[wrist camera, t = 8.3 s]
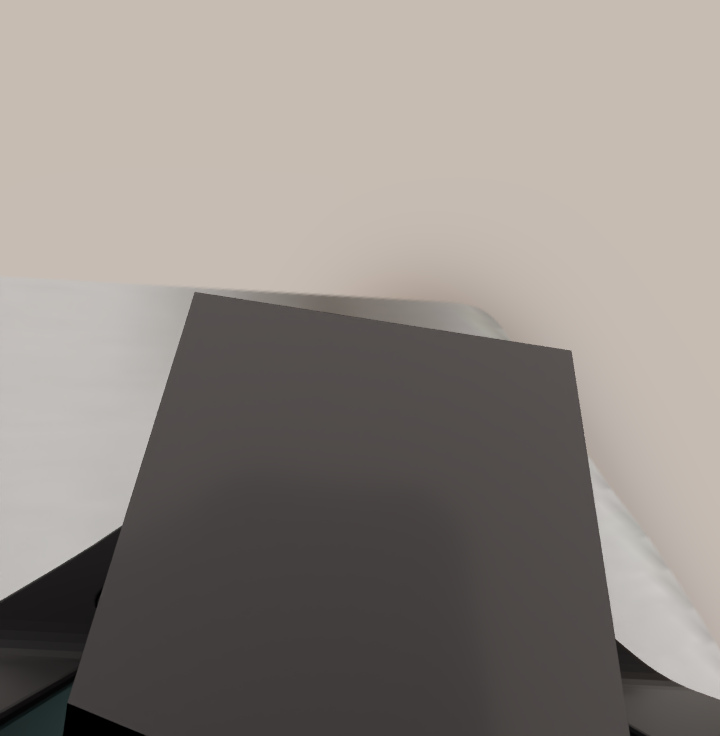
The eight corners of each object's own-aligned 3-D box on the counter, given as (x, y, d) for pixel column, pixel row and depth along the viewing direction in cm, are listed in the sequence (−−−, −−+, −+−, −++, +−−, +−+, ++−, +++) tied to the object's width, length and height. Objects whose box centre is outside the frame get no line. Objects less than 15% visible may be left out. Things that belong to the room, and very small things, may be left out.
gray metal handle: (387, 618, 14) (1043, 1392, 2) (210, 607, 13) (-966, 1835, 1) (395, 446, 17) (680, 245, 4) (247, 429, 16) (65, 124, 3)
